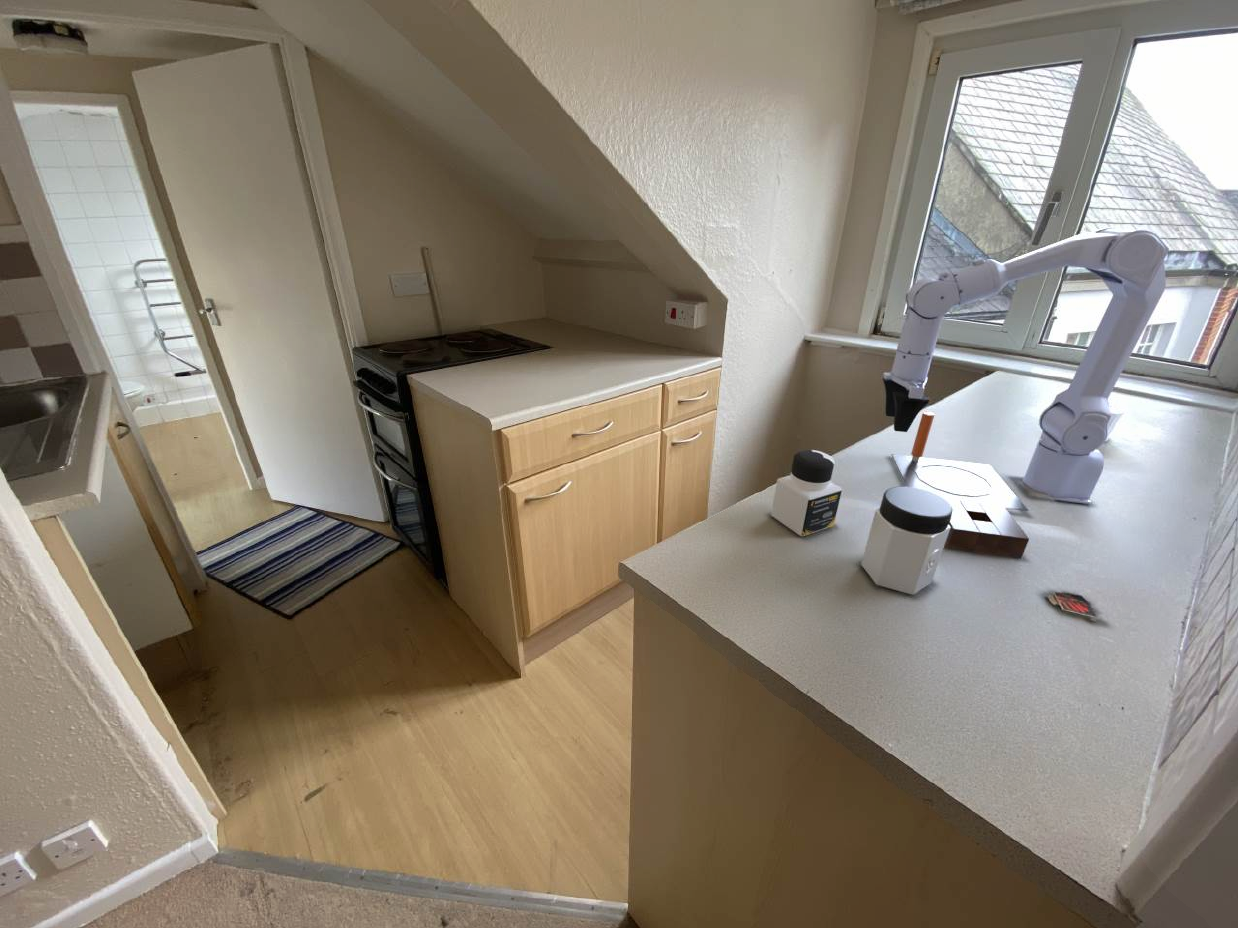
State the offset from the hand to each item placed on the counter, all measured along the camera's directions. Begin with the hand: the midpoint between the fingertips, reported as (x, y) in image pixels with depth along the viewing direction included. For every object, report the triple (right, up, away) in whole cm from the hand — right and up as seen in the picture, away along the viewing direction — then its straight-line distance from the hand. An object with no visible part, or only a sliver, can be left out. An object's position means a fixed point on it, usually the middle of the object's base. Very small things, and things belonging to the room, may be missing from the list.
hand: (895, 423), depth 99 cm
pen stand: (+4, -19, -15) cm, 25 cm away
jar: (-13, -23, -24) cm, 36 cm away
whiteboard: (+10, -11, 0) cm, 15 cm away
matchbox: (+7, -26, -30) cm, 40 cm away
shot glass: (+56, -2, +21) cm, 60 cm away
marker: (+7, -7, +7) cm, 12 cm away
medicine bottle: (-22, -17, -12) cm, 30 cm away
